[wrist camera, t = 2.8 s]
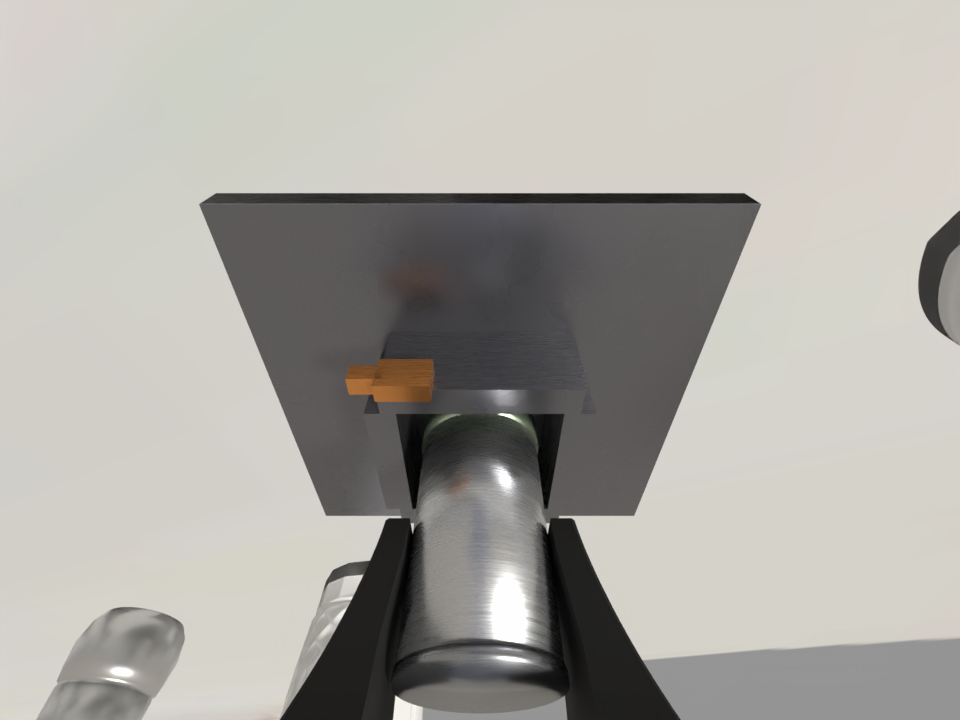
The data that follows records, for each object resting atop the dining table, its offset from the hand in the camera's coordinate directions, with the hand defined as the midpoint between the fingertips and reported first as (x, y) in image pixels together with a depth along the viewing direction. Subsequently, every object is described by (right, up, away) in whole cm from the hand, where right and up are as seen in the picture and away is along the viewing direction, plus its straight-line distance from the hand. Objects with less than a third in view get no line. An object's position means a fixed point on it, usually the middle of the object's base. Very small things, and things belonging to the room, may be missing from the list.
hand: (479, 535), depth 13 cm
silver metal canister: (0, +3, +3) cm, 4 cm away
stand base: (0, +4, +5) cm, 7 cm away
